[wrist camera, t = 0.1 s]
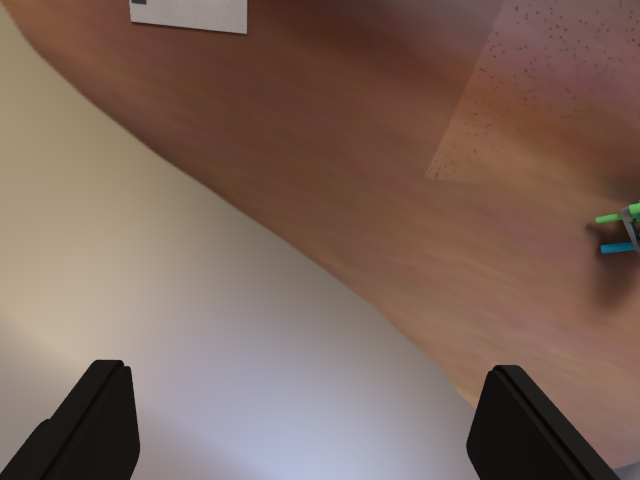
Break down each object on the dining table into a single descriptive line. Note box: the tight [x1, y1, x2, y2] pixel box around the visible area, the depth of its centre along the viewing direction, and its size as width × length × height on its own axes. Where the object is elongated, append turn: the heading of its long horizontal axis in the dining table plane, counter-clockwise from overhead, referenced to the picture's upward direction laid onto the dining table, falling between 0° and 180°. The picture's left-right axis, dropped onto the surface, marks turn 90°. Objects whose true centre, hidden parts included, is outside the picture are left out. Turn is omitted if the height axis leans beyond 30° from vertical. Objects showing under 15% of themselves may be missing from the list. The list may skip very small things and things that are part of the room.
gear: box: [596, 200, 640, 254], centre depth 41 cm, size 11×6×10 cm
